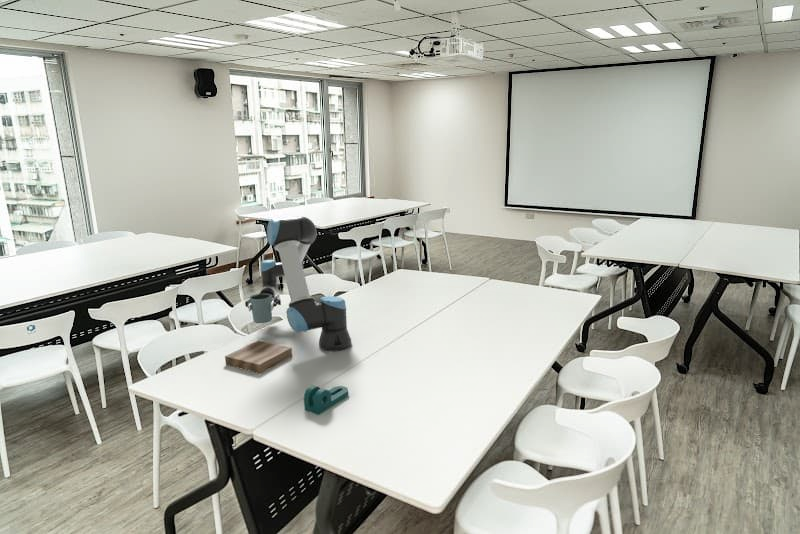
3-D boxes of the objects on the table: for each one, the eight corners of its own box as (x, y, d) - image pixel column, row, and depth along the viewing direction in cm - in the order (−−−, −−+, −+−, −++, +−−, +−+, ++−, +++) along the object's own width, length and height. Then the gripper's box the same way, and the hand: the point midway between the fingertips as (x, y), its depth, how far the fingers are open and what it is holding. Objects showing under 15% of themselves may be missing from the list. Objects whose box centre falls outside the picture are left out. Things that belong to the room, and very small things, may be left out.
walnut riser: (292, 355, 226) (291, 347, 225) (260, 373, 209) (259, 364, 208) (259, 348, 235) (258, 340, 234) (225, 364, 218) (224, 356, 217)
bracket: (318, 415, 175) (317, 394, 174) (304, 410, 179) (303, 389, 177) (351, 394, 190) (351, 375, 188) (338, 389, 194) (337, 371, 192)
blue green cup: (254, 325, 235) (251, 300, 232) (249, 318, 243) (247, 295, 241) (275, 321, 239) (273, 297, 236) (270, 315, 248) (268, 292, 245)
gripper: (289, 300, 260) (285, 314, 239) (246, 302, 258) (237, 317, 236) (288, 286, 259) (283, 299, 237) (244, 288, 256) (235, 301, 235)
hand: (260, 308), depth 237 cm, fingers closed on blue green cup, 9 cm apart
